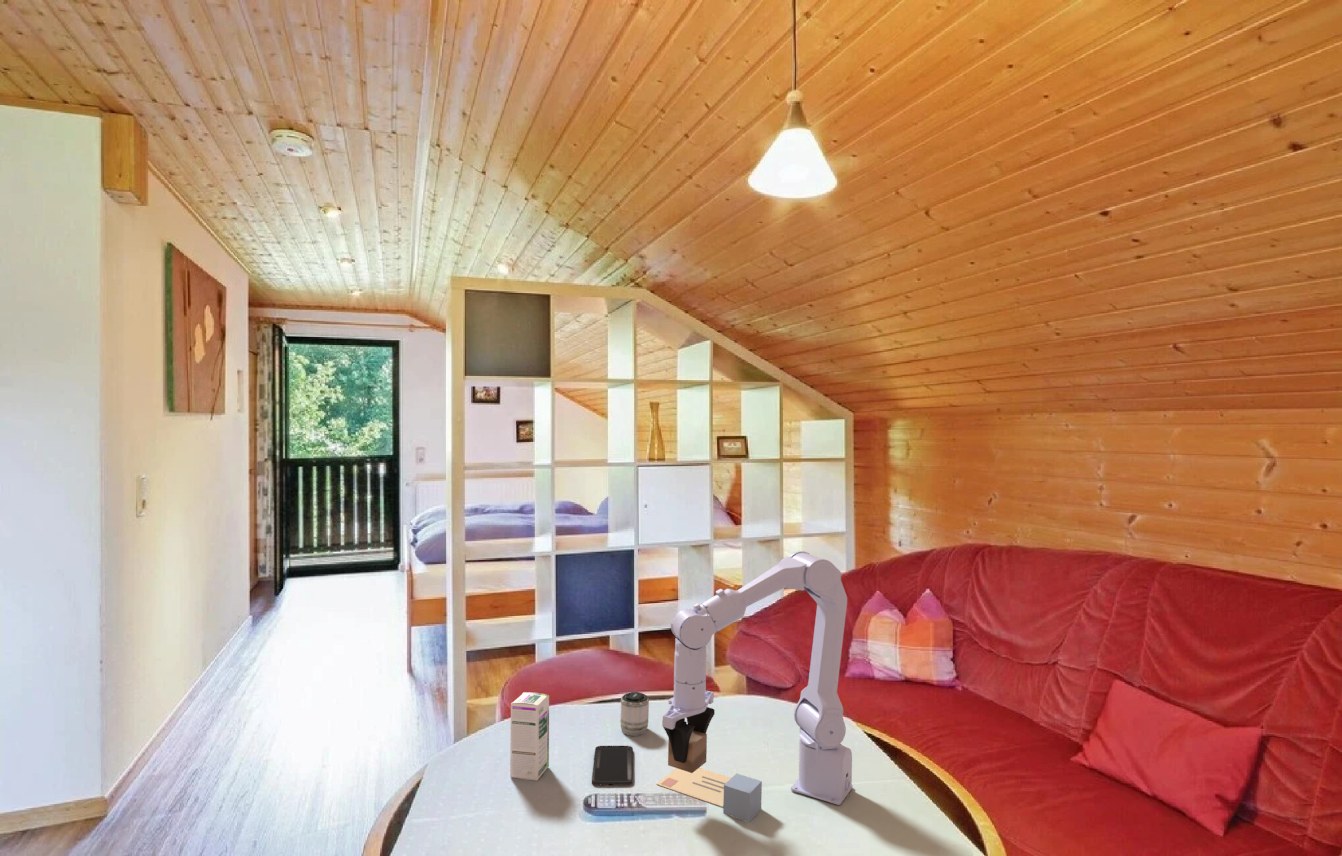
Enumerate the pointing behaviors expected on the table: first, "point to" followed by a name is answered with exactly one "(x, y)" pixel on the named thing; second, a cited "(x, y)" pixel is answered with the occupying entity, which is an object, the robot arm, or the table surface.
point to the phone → (613, 766)
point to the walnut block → (691, 753)
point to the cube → (742, 797)
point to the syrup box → (529, 736)
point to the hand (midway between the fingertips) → (688, 754)
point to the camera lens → (634, 713)
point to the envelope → (697, 784)
